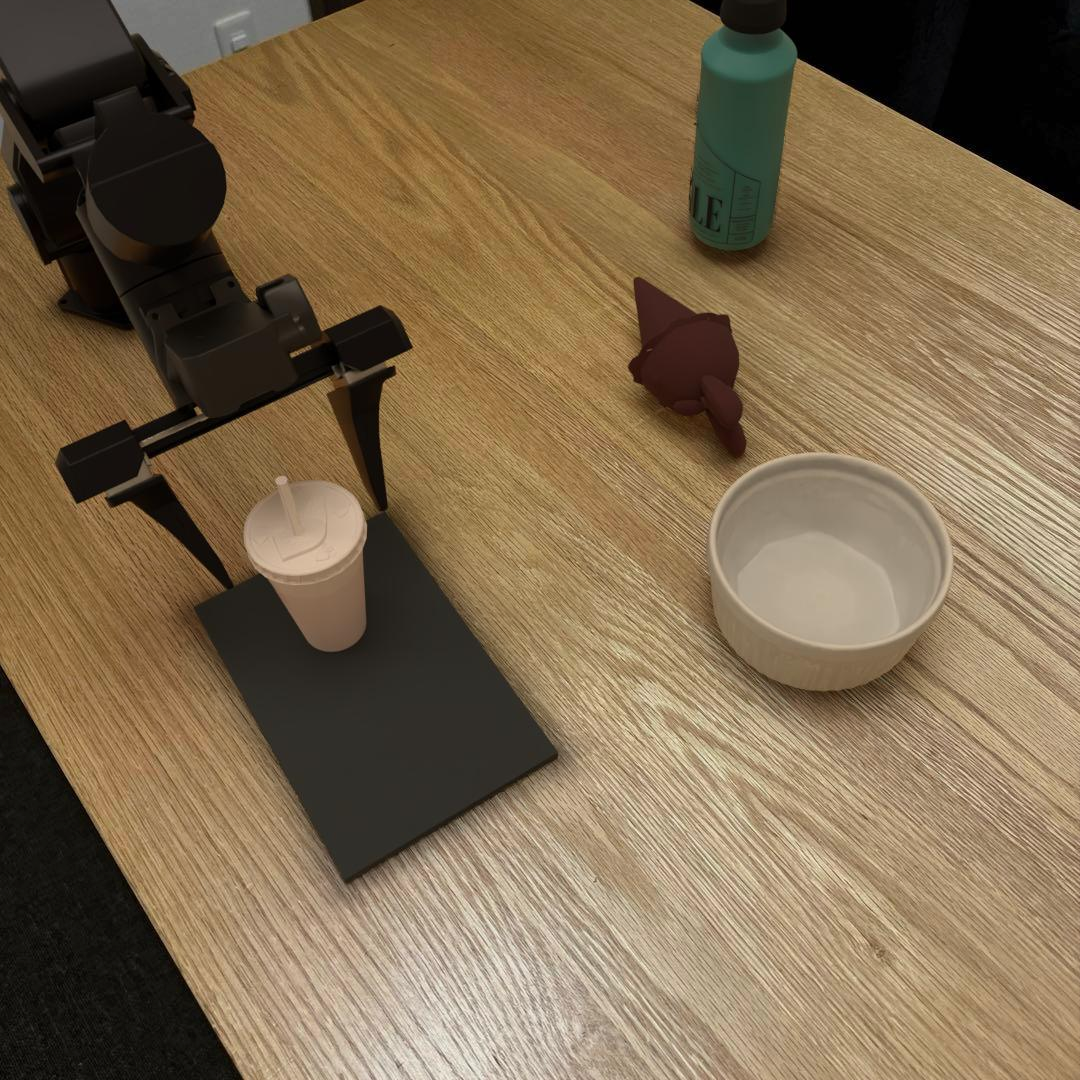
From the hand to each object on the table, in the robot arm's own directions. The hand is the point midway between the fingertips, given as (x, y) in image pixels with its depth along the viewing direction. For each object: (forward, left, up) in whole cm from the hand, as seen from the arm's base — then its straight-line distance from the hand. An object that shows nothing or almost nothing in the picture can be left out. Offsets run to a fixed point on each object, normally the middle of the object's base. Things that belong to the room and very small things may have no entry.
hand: (308, 548), depth 64 cm
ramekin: (+26, +11, -8) cm, 29 cm away
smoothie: (0, 0, -7) cm, 7 cm away
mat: (+4, -3, -8) cm, 9 cm away
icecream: (+13, +25, -8) cm, 30 cm away
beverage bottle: (+11, +41, -8) cm, 44 cm away
